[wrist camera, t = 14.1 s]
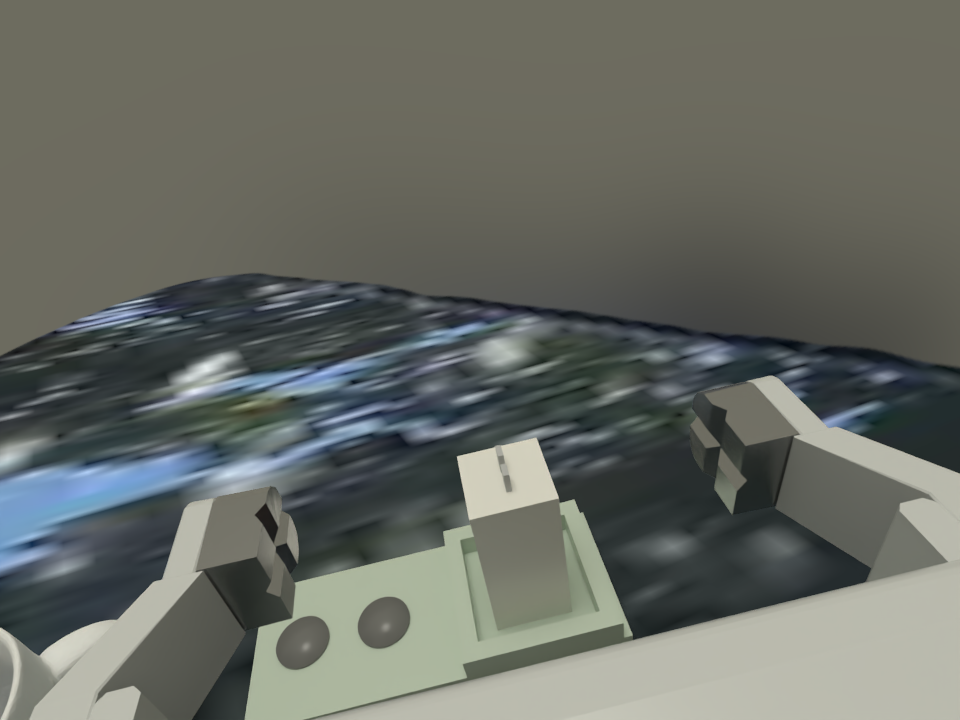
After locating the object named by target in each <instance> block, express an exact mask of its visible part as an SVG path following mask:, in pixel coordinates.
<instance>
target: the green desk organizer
mask: <svg viewBox="0 0 960 720" xmlns="http://www.w3.org/2000/svg"><path fill="white" fill-rule="evenodd" d="M559 504H560V513H561V521H562V530H563V538H564V547H565V555H566V564H567V573H568V581H569V590H570V598H571V607H572V612H570V613H566V614H562V615H558V616H554V617H550V618H546V619H542V620H538V621H534V622H530V623H526V624H522V625H518V626H514V627H510V628H506V629H502V630H497V626H496V622H495V618H494V614H493V610H492V606H491V602H490V598H489V595H488V591H487V587H486V583H485V579H484V575H483V571H482V567H481V563H480V559H479V556H478V552H477V548H476V544H475V540H474V536H473V532H472V528H471V525H468V526H464V527H460V528H456V529H451V530H447V531H443V533H444V540H445V546H444V547H440V548H435V549H431V550H427V551H423V552H419V553H415V554H411V555H407V556H403V557H399V558H394V559H390V560H386V561H382V562H378V563H374V564H370V565H366V566H362V567H358V568H354V569H349V570H345V571H341V572H337V573H333V574H329V575H325V576H321V577H317V578H313V579H308V580H304V581H300V582H296V583H295V585H296V588H295V598H294V608H293V618H292V619H288V620H284V621H281V622H277V623H273V624H269V625H265V626H262V627H259V630H258V636H257V643H256V649H255V656H254V662H253V669H252V675H251V682H250V688H249V695H248V701H247V708H246V714H245V720H312V719H316V718H320V717H325V716H329V715H333V714H337V713H341V712H345V711H349V710H353V709H357V708H361V707H365V706H369V705H373V704H377V703H381V702H385V701H389V700H393V699H397V698H401V697H405V696H409V695H414V694H418V693H422V692H426V691H430V690H434V689H438V688H442V687H446V686H450V685H454V684H458V683H462V682H466V681H470V680H474V679H478V678H482V677H486V676H490V675H494V674H498V673H502V672H506V671H511V670H515V669H519V668H523V667H527V666H531V665H535V664H539V663H543V662H547V661H551V660H555V659H559V658H563V657H567V656H571V655H575V654H579V653H583V652H587V651H591V650H595V649H599V648H603V647H607V646H611V645H615V644H620V643H624V642H628V641H632V640H633V635H632V632H631V630H630V628H629V625H628V623H627V620H626V618H625V615H624V613H623V610H622V608H621V605H620V603H619V600H618V598H617V596H616V593H615V591H614V588H613V586H612V583H611V581H610V578H609V576H608V573H607V571H606V568H605V566H604V564H603V561H602V559H601V556H600V554H599V551H598V549H597V546H596V544H595V541H594V539H593V536H592V534H591V532H590V529H589V527H588V524H587V522H586V519H585V517H584V514H583V513H579V510H578V508H577V505H576V503H575V500H571V501H567V502H563V503H559Z"/></svg>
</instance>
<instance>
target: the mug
mask: <svg viewBox="0 0 960 720" xmlns="http://www.w3.org/2000/svg"><path fill="white" fill-rule="evenodd" d="M116 621H117V620H107V621H101V622H98V623H94V624H91V625H88V626H86V627H83V628H81V629H79V630H77V631H75V632H72V633H70V634H69V635H67V636H65V637H63V638H62V639H60V640H59V641H57V642H56V643H54V644H53V645H51V646H50V647H48V648H47V649H46V650H45V651H44V652H43V653H42V654H41V655H40V656H38V655H36V654H35V653H33V652H32V651H31V650H30V649H28V648H27V647H26V646H25V645H24V644H22V643H21V642H20V641H19V640H18V639H16V638H15V637H14V636H12V635H11V634H10V633H8V632H7V631H5V630H3V629H2V628H0V720H29V719H30V717H31V714H32V712H33V710H34V707H35V706H36V705H37V704H38V703H39V702H40V701H41V700H42V699H43V698H44V697H45V696H46V694H47V693H48V692H49V691H50V690H51V689H52V688H53V687H54V686H55V685H56V684H57V683H58V682H59V681H60V680H61V679H62V678H63V677H64V676H65V674H66V673H67V672H68V671H69V670H70V669H71V668H72V667H73V666H74V665H75V664H76V663H77V662H78V661H79V660H80V659H81V658H82V657H83V656H84V655H85V653H86V652H87V651H88V650H89V649H90V648H91V647H92V646H93V645H94V644H95V643H96V642H97V641H98V640H99V639H100V638H101V637H102V636H103V635H104V634H105V632H106V631H107V630H108V629H109V628H110V627H111V626H112V625H113V624H114V623H115V622H116Z"/></svg>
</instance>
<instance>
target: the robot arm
mask: <svg viewBox="0 0 960 720" xmlns="http://www.w3.org/2000/svg"><path fill="white" fill-rule="evenodd" d="M692 409H693V410H694V412H695V413H696V415H697V416H698V417H697V418H696V420H695V421H694V422H693V423H692V424H691V426H690V438H689V439H690V444H691V448H692V453H693V455H694V457H695V459H696V462H697V463H698V465H699V466H700V468H701V469H702V471H703V472H705V473H707V474H709V475H711V476H713V477H715V478H716V481H715V488H714V489H715V490H716V492H717V493H718V495H719V496H720V498H721V499H722V501H723V502H724V503H725V505H726V506H727V508H728V509H729V511H730V512H731V514H732V515H735V514H740V513H744V512H749V511H754V510H759V509H764V508H769V507H774V506H776V509H777V510H779V511H781V512H782V513H784V514H785V515H787V516H789V517H790V518H792V519H793V520H795V521H797V522H798V523H800V524H802V525H803V526H805V527H806V528H808V529H810V530H811V531H813V532H814V533H816V534H818V535H819V536H821V537H822V538H824V539H826V540H827V541H829V542H830V543H832V544H834V545H835V546H837V547H838V548H840V549H842V550H843V551H845V552H846V553H848V554H850V555H851V556H853V557H855V558H856V559H858V560H859V561H861V562H863V563H864V564H866V565H867V566H869V567H871V568H872V569H871V571H870V573H869V576H868V578H867V580H866V583H862V584H858V585H854V586H850V587H845V588H841V589H837V590H833V591H829V592H825V593H821V594H817V595H813V596H809V597H805V598H801V599H797V600H793V601H789V602H785V603H781V604H777V605H773V606H769V607H765V608H761V609H757V610H753V611H749V612H744V613H740V614H736V615H732V616H728V617H724V618H720V619H716V620H712V621H708V622H704V623H700V624H696V625H692V626H688V627H684V628H680V629H676V630H672V631H668V632H664V633H660V634H656V635H652V636H648V637H644V638H640V639H636V640H632V641H628V642H624V643H620V644H615V645H611V646H607V647H603V648H599V649H595V650H591V651H587V652H583V653H579V654H575V655H571V656H567V657H563V658H559V659H555V660H551V661H547V662H543V663H539V664H535V665H531V666H527V667H523V668H519V669H515V670H511V671H506V672H502V673H498V674H494V675H490V676H486V677H482V678H478V679H474V680H470V681H466V682H462V683H458V684H454V685H450V686H446V687H442V688H438V689H434V690H430V691H426V692H422V693H418V694H414V695H409V696H405V697H401V698H397V699H393V700H389V701H385V702H381V703H377V704H373V705H369V706H365V707H361V708H357V709H353V710H349V711H345V712H341V713H337V714H333V715H329V716H325V717H320V718H316V719H312V720H960V474H959V473H956V472H954V471H951V470H948V469H946V468H943V467H940V466H938V465H935V464H933V463H930V462H927V461H925V460H922V459H919V458H917V457H914V456H912V455H909V454H906V453H904V452H901V451H898V450H896V449H893V448H891V447H888V446H885V445H883V444H880V443H878V442H875V441H872V440H870V439H867V438H864V437H862V436H859V435H857V434H854V433H851V432H849V431H846V430H843V429H841V428H838V427H833V428H828V427H827V426H826V425H825V424H824V423H823V422H822V421H821V420H820V419H819V418H818V417H817V416H816V415H815V414H814V413H813V412H812V411H811V410H810V409H809V408H808V407H807V406H806V405H805V404H804V403H803V402H802V401H801V400H800V399H799V398H798V397H797V396H796V395H795V394H793V393H792V392H791V391H790V390H789V389H788V388H787V387H786V386H785V385H784V384H783V383H782V382H781V381H780V380H779V379H778V378H776V377H774V376H767V377H763V378H758V379H754V380H750V381H746V382H742V383H738V384H733V385H729V386H724V387H720V388H716V389H711V390H707V391H703V392H698V393H697V394H696V395H695V397H694V399H693V407H692ZM281 504H282V498H281V497H280V495H279V493H278V491H277V489H276V487H271V486H270V487H265V488H260V489H255V490H250V491H245V492H240V493H234V494H229V495H224V496H219V497H217V498H212V499H207V500H202V501H196V502H191V503H189V504H188V506H187V507H186V508H185V509H184V511H183V514H182V518H181V521H180V524H179V527H178V530H177V534H176V537H175V540H174V543H173V547H172V550H171V553H170V556H169V559H168V563H167V566H166V569H165V572H164V575H163V579H162V580H159V581H155V582H153V583H152V584H151V585H150V586H149V587H148V588H147V589H146V590H145V591H144V593H143V594H142V595H141V596H140V597H139V598H138V599H137V600H136V601H135V602H134V603H133V604H132V605H131V606H130V607H129V608H128V609H127V610H126V611H125V613H124V614H123V615H122V616H121V617H120V618H119V619H118V620H117V621H116V622H115V623H114V624H113V625H112V626H111V627H110V628H109V629H108V630H107V631H106V632H105V634H104V635H103V636H102V637H101V638H100V639H99V640H98V641H97V642H96V643H95V644H94V645H93V646H92V647H91V648H90V649H89V650H88V651H87V652H86V653H85V655H84V656H83V657H82V658H81V659H80V660H79V661H78V662H77V663H76V664H75V665H74V666H73V667H72V668H71V669H70V670H69V671H68V672H67V673H66V674H65V676H64V677H63V678H62V679H61V680H60V681H59V682H58V683H57V684H56V685H55V686H54V687H53V688H52V689H51V690H50V691H49V692H48V693H47V694H46V696H45V697H44V698H43V699H42V700H41V701H40V702H39V703H38V704H37V705H36V706H35V707H34V710H33V712H32V714H31V717H30V719H29V720H192V719H193V717H194V715H195V714H196V712H197V711H198V709H199V707H200V706H201V704H202V703H203V701H204V699H205V698H206V696H207V695H208V693H209V691H210V690H211V688H212V687H213V685H214V683H215V682H216V680H217V679H218V677H219V675H220V674H221V672H222V671H223V669H224V667H225V666H226V664H227V663H228V661H229V659H230V658H231V656H232V655H233V653H234V651H235V650H236V648H237V647H238V645H239V643H240V642H241V640H242V639H243V637H244V636H245V634H246V633H245V631H246V630H250V629H254V628H258V627H262V626H265V625H269V624H273V623H277V622H281V621H284V620H288V619H292V618H293V608H294V598H295V588H296V585H295V583H294V581H293V579H292V577H291V576H290V574H291V572H292V571H293V570H294V569H295V567H296V566H297V565H298V553H299V549H298V539H297V533H296V529H295V526H294V523H293V521H292V519H291V517H290V515H289V514H287V513H285V512H283V511H281Z"/></svg>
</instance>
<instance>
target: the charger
mask: <svg viewBox="0 0 960 720" xmlns="http://www.w3.org/2000/svg"><path fill="white" fill-rule="evenodd" d="M457 459H458V465H459V470H460V475H461V480H462V485H463V490H464V495H465V500H466V505H467V510H468V516H469V520H470V524H471V528H472V532H473V536H474V540H475V544H476V548H477V552H478V556H479V559H480V563H481V567H482V571H483V575H484V579H485V583H486V587H487V591H488V595H489V598H490V602H491V606H492V610H493V614H494V618H495V622H496V626H497V630H502V629H506V628H510V627H514V626H518V625H522V624H526V623H530V622H534V621H538V620H542V619H546V618H550V617H554V616H558V615H562V614H566V613H570V612H572V607H571V598H570V590H569V581H568V573H567V564H566V555H565V547H564V538H563V530H562V521H561V513H560V504H559V497H558V495H557V492H556V489H555V487H554V484H553V481H552V479H551V476H550V473H549V471H548V468H547V465H546V463H545V460H544V457H543V454H542V452H541V449H540V446H539V444H538V441H537V438H533V439H529V440H525V441H521V442H516V443H512V444H508V445H504V446H501V445H498V446H495V448H491V449H487V450H482V451H478V452H474V453H470V454H466V455H461V456H457Z"/></svg>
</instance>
